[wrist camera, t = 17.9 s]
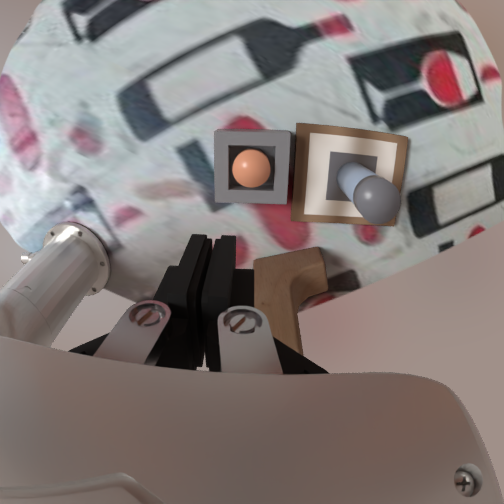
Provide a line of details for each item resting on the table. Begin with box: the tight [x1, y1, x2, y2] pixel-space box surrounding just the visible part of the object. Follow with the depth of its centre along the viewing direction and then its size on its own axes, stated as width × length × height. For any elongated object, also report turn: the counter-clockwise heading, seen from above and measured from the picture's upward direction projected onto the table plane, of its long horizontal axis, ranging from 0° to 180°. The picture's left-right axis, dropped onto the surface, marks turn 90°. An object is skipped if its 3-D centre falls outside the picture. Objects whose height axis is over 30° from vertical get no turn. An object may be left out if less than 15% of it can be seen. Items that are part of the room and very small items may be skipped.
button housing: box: [214, 129, 291, 204], centre depth 34 cm, size 8×8×4 cm
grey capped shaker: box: [336, 162, 401, 224], centre depth 30 cm, size 4×4×10 cm
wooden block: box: [253, 247, 328, 356], centre depth 34 cm, size 9×4×18 cm, turn 104°
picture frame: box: [291, 123, 408, 226], centre depth 35 cm, size 14×12×1 cm
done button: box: [232, 148, 270, 188], centre depth 33 cm, size 4×4×2 cm
